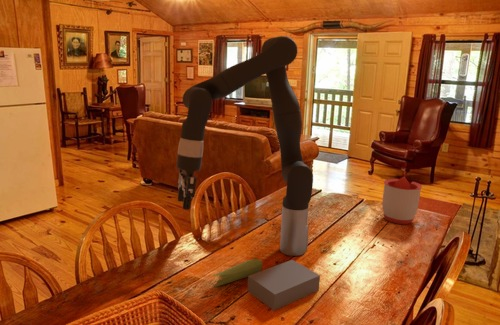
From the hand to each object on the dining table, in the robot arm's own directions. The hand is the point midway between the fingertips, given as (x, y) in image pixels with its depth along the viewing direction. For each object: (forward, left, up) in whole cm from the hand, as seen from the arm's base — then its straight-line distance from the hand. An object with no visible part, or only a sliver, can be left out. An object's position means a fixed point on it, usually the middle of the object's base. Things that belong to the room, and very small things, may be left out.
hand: (183, 205), depth 125 cm
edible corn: (-12, +13, -23) cm, 29 cm away
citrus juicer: (-102, +13, -23) cm, 105 cm away
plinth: (-19, +27, -23) cm, 40 cm away
